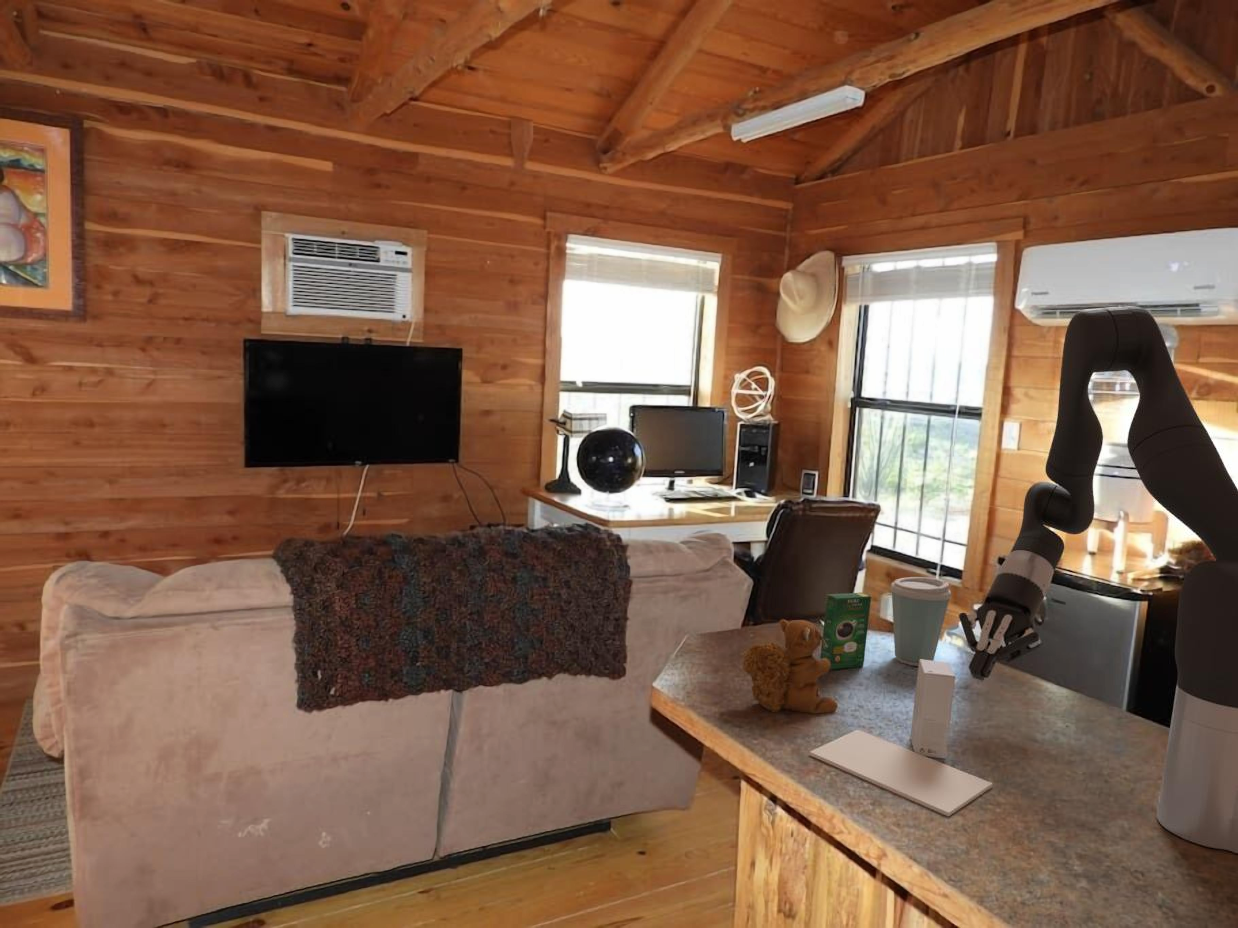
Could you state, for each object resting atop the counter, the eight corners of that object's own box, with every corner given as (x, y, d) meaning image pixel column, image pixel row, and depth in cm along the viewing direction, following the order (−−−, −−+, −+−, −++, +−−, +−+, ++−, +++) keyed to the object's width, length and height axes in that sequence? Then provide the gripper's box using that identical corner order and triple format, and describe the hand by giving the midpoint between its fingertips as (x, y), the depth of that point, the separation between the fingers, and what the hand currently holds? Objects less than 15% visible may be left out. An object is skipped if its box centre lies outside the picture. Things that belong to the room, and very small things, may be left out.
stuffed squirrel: (842, 711, 138) (850, 629, 137) (765, 723, 132) (772, 637, 131) (803, 687, 147) (810, 610, 145) (729, 697, 141) (736, 616, 140)
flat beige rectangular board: (992, 786, 116) (992, 783, 116) (948, 816, 108) (948, 812, 108) (857, 732, 131) (857, 729, 131) (809, 755, 122) (809, 751, 122)
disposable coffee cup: (891, 668, 158) (900, 586, 156) (876, 648, 169) (884, 571, 167) (952, 672, 158) (961, 590, 156) (932, 652, 169) (941, 574, 167)
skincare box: (946, 759, 124) (956, 676, 122) (914, 755, 124) (923, 672, 123) (940, 741, 130) (949, 661, 128) (909, 737, 130) (918, 657, 129)
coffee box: (854, 661, 161) (861, 590, 160) (865, 666, 159) (872, 594, 157) (818, 665, 158) (825, 593, 156) (828, 671, 155) (835, 598, 154)
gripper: (974, 562, 145) (928, 650, 138) (1059, 582, 135) (1015, 677, 128) (984, 589, 149) (941, 676, 142) (1068, 610, 140) (1025, 703, 133)
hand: (976, 676), depth 135 cm, fingers closed
